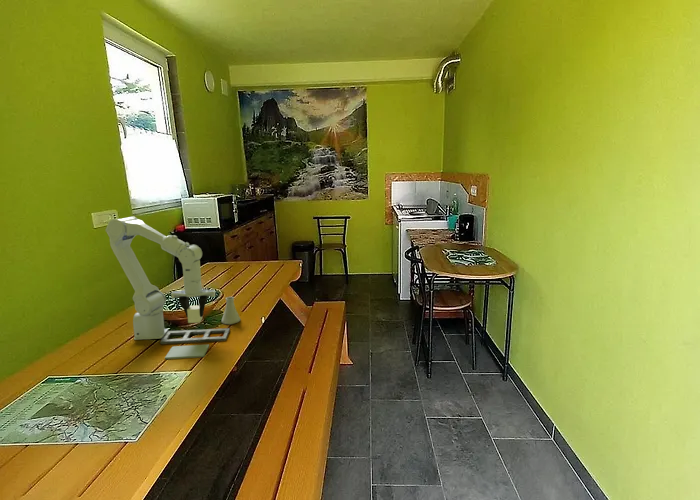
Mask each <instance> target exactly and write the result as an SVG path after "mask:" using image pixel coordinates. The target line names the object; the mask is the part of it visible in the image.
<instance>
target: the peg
mask: <svg viewBox="0 0 700 500" xmlns="http://www.w3.org/2000/svg"><path fill="white" fill-rule="evenodd" d="M187 314H188V317H187V323H188V324H194V323H201V321H202V320H203V316H202V317H200V307H199V304H198V305H189V308H188V309H187Z"/></svg>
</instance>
